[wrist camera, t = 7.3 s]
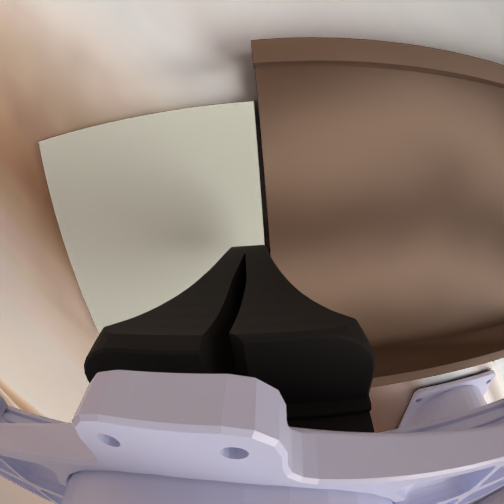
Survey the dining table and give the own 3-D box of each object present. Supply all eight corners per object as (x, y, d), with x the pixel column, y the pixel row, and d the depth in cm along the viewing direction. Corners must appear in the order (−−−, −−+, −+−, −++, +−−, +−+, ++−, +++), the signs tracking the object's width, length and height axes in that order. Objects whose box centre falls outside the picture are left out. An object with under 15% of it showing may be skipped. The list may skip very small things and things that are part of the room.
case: (532, 316, 17) (551, 340, 14) (277, 356, 18) (278, 396, 16) (577, 102, 10) (609, 111, 7) (253, 51, 11) (250, 39, 8)
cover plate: (270, 326, 18) (270, 344, 17) (111, 327, 19) (103, 342, 18) (254, 100, 13) (253, 101, 11) (55, 136, 13) (38, 141, 12)
